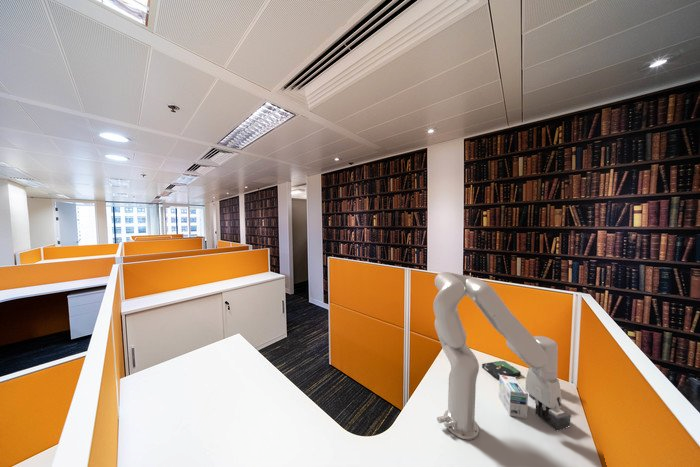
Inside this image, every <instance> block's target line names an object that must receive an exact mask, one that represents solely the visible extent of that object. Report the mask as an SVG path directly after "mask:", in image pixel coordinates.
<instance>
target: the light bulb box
mask: <svg viewBox="0 0 700 467" xmlns="http://www.w3.org/2000/svg"><path fill="white" fill-rule="evenodd" d="M498 381H499V383H498V384H499V385H498V386H499V387H498V398H499V400H500V401H501V403H502V405H503V407H504V408H505V410H506V412H507V414H508V415H509V417H516V418H522V419H528V405H529V404H528V402H529V400H528V399H529V393H528V392H527V391H526V389H525V388H524V387H523V386H522V384H521V383H520V382H519V381H518V379H517V377H510V376H503V375H500V380H498Z"/></svg>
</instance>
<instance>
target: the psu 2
mask: <svg viewBox="0 0 700 467" xmlns="http://www.w3.org/2000/svg"><path fill="white" fill-rule="evenodd" d="M559 408H560V412H558V413H556V412H554V411H553V410H551V409H550V410H549V416H548V418H544V419H542V421H544V422H545V423H546V424H548V425H549V426H550V427H551V428H552V427H553V429H554V430H555V431H556V432H557V430H558V431H561V430H564V429H563V428H565V429H567V428H566V427H568V426H570V427H571V416H572V415H571V414H570V413H569V412H567V411H565V410H564V409H563V408H561V406H560V407H559ZM534 412H535V415H536V416H538V415H537V405H536V404H535V411H534ZM568 428H569V427H568ZM560 429H561V430H560Z"/></svg>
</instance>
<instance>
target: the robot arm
mask: <svg viewBox="0 0 700 467" xmlns="http://www.w3.org/2000/svg"><path fill="white" fill-rule="evenodd" d="M434 285H435V288H436V289H437V290H438V293H437V294H436V296H435V298H434V299H433V304H432V307H433V313H434V316H435V320H434V329H435V331H436V332H435V333H436V334H437V337H438V340H439V342H440V345H441V347H442V350H443V353H444V354H445V356H446V358H447V360H448V361H449V364H450V371H449V374H448V392H447V393H448V395H447V396H448V398H447V410H445V412H444V413H443V416H437V417H436V420H437V423H438V424H442V423H443V425H444V427H445V428H446V429H447V430H448V431H449V433H450V432H451V433H452V435H454V436H456V437H458V438H460V439H463V440H473V439H476V438H477V437H478V436H479V433H480V430H479V425H478V423H477V421H476V420H475V419H476V418H475V415H476V413H475V412H476V410H475V409H476V391H477V387H476V386H477V378H478V375H479V372H480V364H479V360H478V359H477V357H476V354H474V352H473V351H472V350H471V348H470V347H469V346H468V344H466V343H467V333H466V330H465V327H464V326H463V323H462V320H461V318H460V315H459V311H458V305H459V303H460V301H461V300H462V299H463V298H464V297H465V296H467V297H468V298H469V299H470V300H472V302H474V304H475V305H476V307H477V308H478V309H479V310H480V312H481V313H482V314H483V316H484V317H485V318H486V319H487V321H488V323H489V324H490V325H491V326H492V327H493V329H495V330H496V331H497V332H498V333H499V334H501V335H502V336H503V337H504V339H505V342H506V346H507V347H508V349H510V351H511V352H513V353H514V355H516V356H517V357H518V358H519V359H520V360H522V362H523V363H524V364H525V365H527V366H529V368H528V369H527V370H528V371H526V372H527V373H526V378H525V379H526V380H525V391H526V392H527V393H528V395H529V394H530V395H532V396H533V398H534V399H535V400H534V402H535V406H536V405H537V415H536V416H538V418H539V419H541V420H543V419H544V418H548V416H549V410H550V409H551V410H553V411H554V412H556V413H558V412H560V408H561V406H562V391H561V390H562V389H561V385H560V381H559V379H558V354H559V353H558V351H559V350H558V349H559V347H558V346H559V345H558V344H557V342H556V340H553V339H551V338H549V337H547V336H542V335H536V336H533V335H532V333H531V332H530V331H529V330H528V329H527V328H526V327H525V326H524V325H523V323H521V322H520V321H519V319H518V318H517V317H516V316H515V315H514V314H513V313H512V311H511V310H510V309H509V308H508V306H507V305H506V304H505V302H504V301H503V300H502V298H501V297H500V296H499V294H498V293H497V292H496V291H495V289H494V288H493V287H492V286H491V285H490V284H489V283H487V282H485V281H484V280H481V279H480V278H478V277H474V276H470V275H469V276H468V275H462V274H458V273H454V272H449V271H444V272H443V271H442V272H439V273H438V274H437V275H435V277H434ZM559 406H560V408H559Z"/></svg>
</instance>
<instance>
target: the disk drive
mask: <svg viewBox="0 0 700 467" xmlns="http://www.w3.org/2000/svg"><path fill="white" fill-rule="evenodd" d="M481 368H482V369H483V370H484V371H486V372H487V374H489V375H490V376H492V377H493V378H494V380H496V381H499V380H500V375H503V376H510V377H515V378H517V377H521V376H522V375H521V373H522V372H521V371H520V370H518V369H517V368H516V367H514V366H513V365H511V364H509V363H508V362H507V361H505V360H499V361H493V362H484V363H482V364H481Z"/></svg>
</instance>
